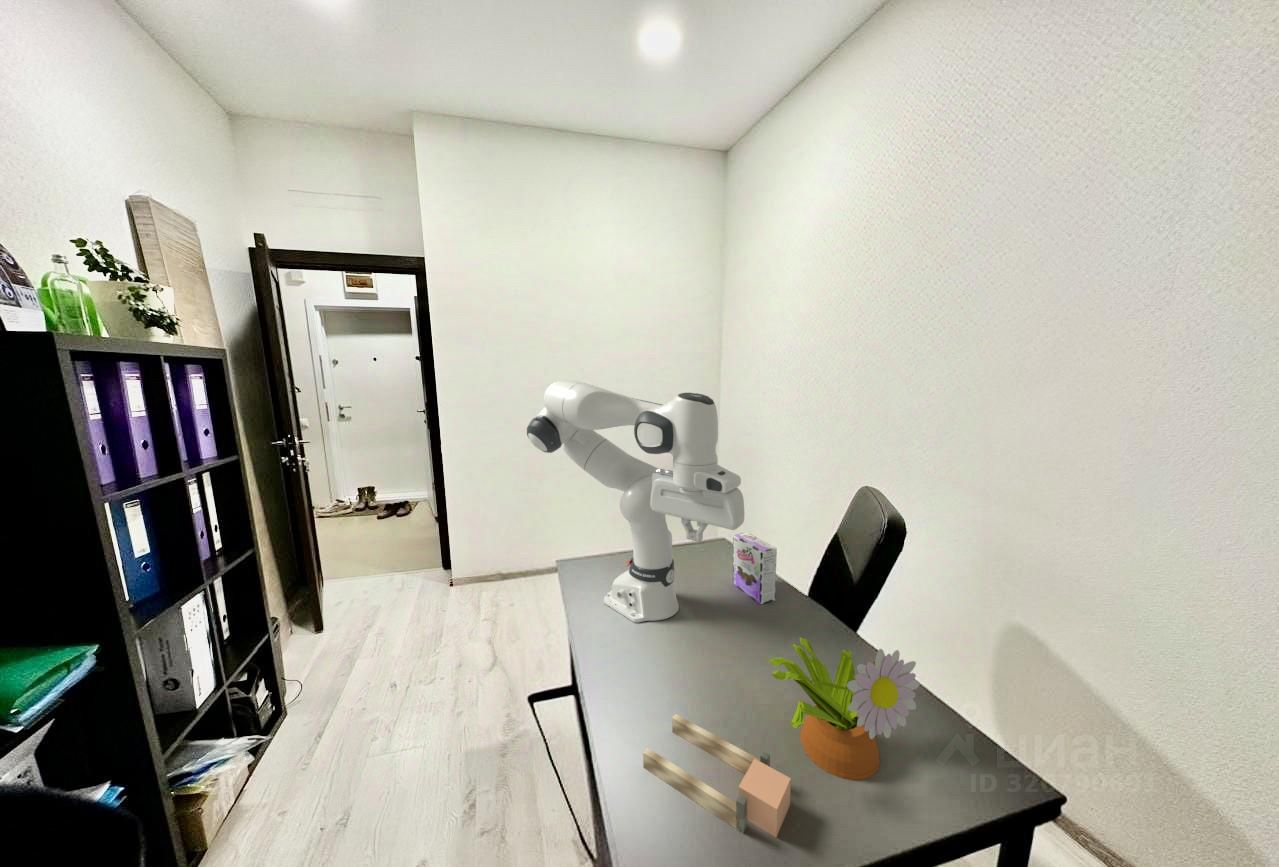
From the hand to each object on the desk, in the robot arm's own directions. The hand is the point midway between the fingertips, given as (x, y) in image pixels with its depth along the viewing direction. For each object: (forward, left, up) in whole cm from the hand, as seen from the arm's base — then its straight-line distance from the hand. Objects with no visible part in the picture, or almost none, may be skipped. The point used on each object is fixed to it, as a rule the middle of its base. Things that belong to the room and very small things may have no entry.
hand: (694, 539), depth 91 cm
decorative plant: (+29, +3, -34) cm, 44 cm away
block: (+22, -17, -34) cm, 44 cm away
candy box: (-5, +44, -34) cm, 56 cm away
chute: (+12, -17, -33) cm, 39 cm away
